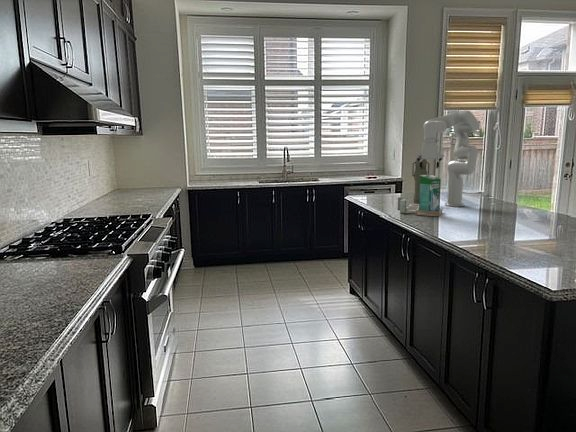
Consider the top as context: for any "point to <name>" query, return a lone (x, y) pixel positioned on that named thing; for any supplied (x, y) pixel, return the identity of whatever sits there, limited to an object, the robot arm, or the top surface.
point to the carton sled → (417, 211)
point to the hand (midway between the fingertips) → (429, 168)
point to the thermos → (418, 176)
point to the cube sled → (408, 206)
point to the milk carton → (429, 193)
